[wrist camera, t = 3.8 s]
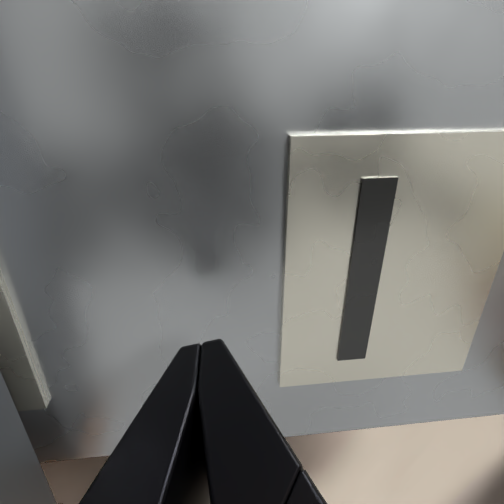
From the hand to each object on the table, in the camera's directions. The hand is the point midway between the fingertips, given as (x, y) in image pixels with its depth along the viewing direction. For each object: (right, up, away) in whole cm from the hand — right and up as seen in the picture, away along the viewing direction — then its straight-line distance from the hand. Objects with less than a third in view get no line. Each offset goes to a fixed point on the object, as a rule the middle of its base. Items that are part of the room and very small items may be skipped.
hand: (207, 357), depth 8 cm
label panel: (-2, +2, +3) cm, 4 cm away
